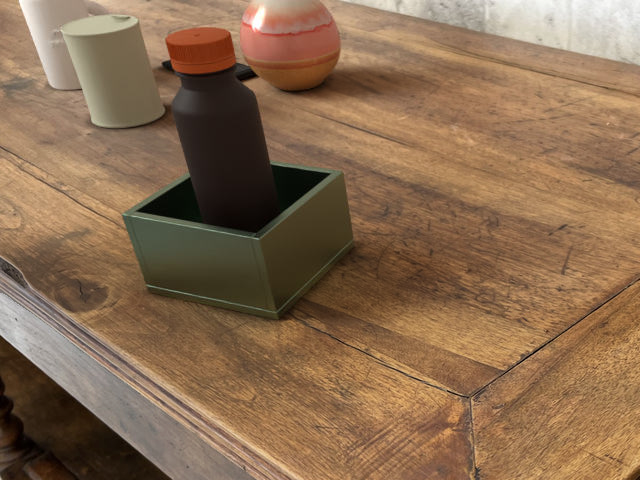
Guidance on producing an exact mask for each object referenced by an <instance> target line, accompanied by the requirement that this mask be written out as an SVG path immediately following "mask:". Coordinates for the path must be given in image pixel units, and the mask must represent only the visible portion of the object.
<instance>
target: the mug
mask: <svg viewBox="0 0 640 480" xmlns="http://www.w3.org/2000/svg"><path fill="white" fill-rule="evenodd" d="M18 3H19V5H20V8H21V11H22V14H23V17H24V19H25V22H26V24H27V27H28V30H29V33H30V35H31V38H32V40H33V43H34V46H35V49H36V51H37V54H38V57H39V60H40V62H41V65H42V68H43V70H44V73H45V76H46V78H47V81H48V84H49V86H50V87H52V88H53V89H55V90H61V91H72V90H73V91H74V90H82V87H81V84H80V81H79V78H78V75H77V72H76V70H75V67H74V64H73V61H72V58H71V56H70V53H69V50H68V47H67V44H66V42H65V39H64V37H63V34H62V32H61V27H62V26H63V25H64V24H66V23H68V22H71V21H74V20H77V19H81V18H85V17H90V15H92V16H99V15H113V14H112V13H111V12H110V11H109V10H108V8H106V7H105V6H103V5H102V4H100V3H99V2H96V1H94V0H18Z"/></svg>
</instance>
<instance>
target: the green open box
mask: <svg viewBox="0 0 640 480" xmlns="http://www.w3.org/2000/svg"><path fill="white" fill-rule="evenodd" d="M270 163H271V168H272V173H273V178H274V182H275V187H276V192H277V196H278V201H279V206H280V211H281V214H280V215H279V216H278V217H276V218H275V219H274V220H273V221H271V222H270V223H269V224H268V225H266V226H265V227H264V228H263V229H261V230H260V231H259V232H258V233H252V232H246V231H241V230H235V229H230V228H224V227H218V226H213V225H207V224H203V220H202V217H201V213H200V209H199V206H198V202H197V199H196V195H195V192H194V188H193V185H192V181H191V178H190V174H189V171H188V172H185V173H184V174H182V175H181V176H179V177H178V178H176V179H175V180H173V181H172V182H170V183H168V184H167V185H165V186H163V187H162V188H160V189H159V190H157V191H156V192H154V193H153V194H150V195H149V196H148V197H146V198H145V199H143V200H141V201H140V202H138V203H137V204H135V205H133V206H132V207H130V208H129V209H127V210H125V211H124V212H122V213H121V218H122V220H123V223H124V226H125V229H126V232H127V234H128V238H129V240H130V243H131V246H132V249H133V251H134V254H135V257H136V260H137V263H138V266H139V268H140V272H141V274H142V277H143V280H144V283H145V286H146V288H147V292H148V293H149V294H155V295H158V296H164V297H168V298H173V299H178V300H183V301H187V302H190V303H191V302H192V303H197V304H202V305H206V306H211V307H216V308H219V309H220V308H221V309H225V310H230V311H235V312H239V313H244V314H248V315H253V316H258V317H263V318H267V319H271V320H277V321H279V320H280V319H281V318H282V317H283V316H284V315H285V314H286V313H287V312H288V311H289V310H291V308H292V307H293V306H295V305H296V303H298V302H299V300H301V299H302V298H303V297H304V296H305V295H306V294H307V293H308V292H309V291H310V290H311V289H312V288H313V287H314V286H315V285H316V284H317V283H318V282H319V281H320V280H321V279H322V278H323V277H324V276H325V275H327V273H329V271H331V269H332V268H334V266H335V265H337V264H338V263H339V262H340V261H341V260H342V259H343V258H344V257H345V256H346V255H347V254H349V252H350V251H352V249H353V248H354V247H355V245H356V244H355V239H354V233H353V226H352V225H353V224H352V219H351V212H350V207H349V199H348V194H347V187H346V181H345V174H344V173H345V172H344V171H343V170H339V169H333V168H325V167H318V166H313V165H305V164H298V163H292V162H286V161H279V160H273V159H270Z"/></svg>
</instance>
